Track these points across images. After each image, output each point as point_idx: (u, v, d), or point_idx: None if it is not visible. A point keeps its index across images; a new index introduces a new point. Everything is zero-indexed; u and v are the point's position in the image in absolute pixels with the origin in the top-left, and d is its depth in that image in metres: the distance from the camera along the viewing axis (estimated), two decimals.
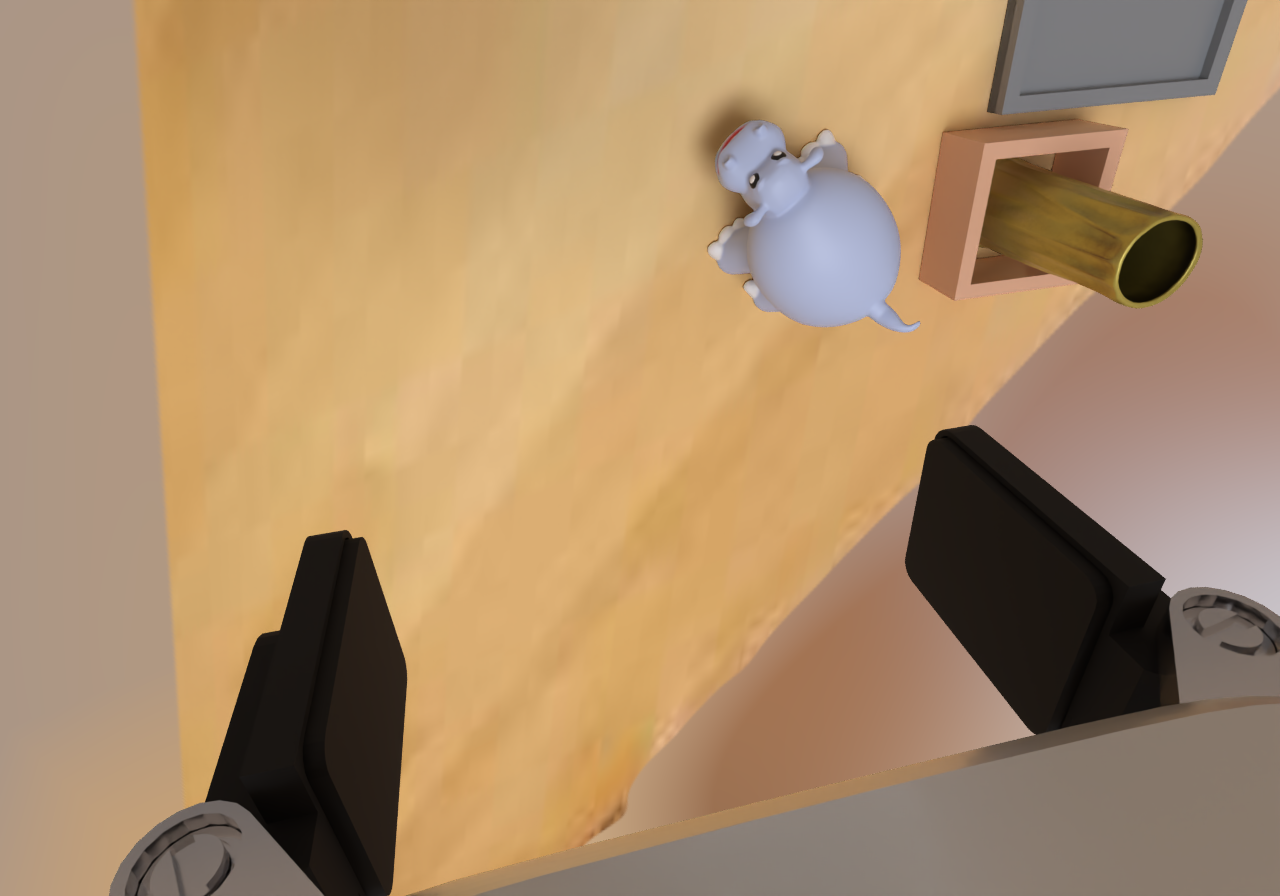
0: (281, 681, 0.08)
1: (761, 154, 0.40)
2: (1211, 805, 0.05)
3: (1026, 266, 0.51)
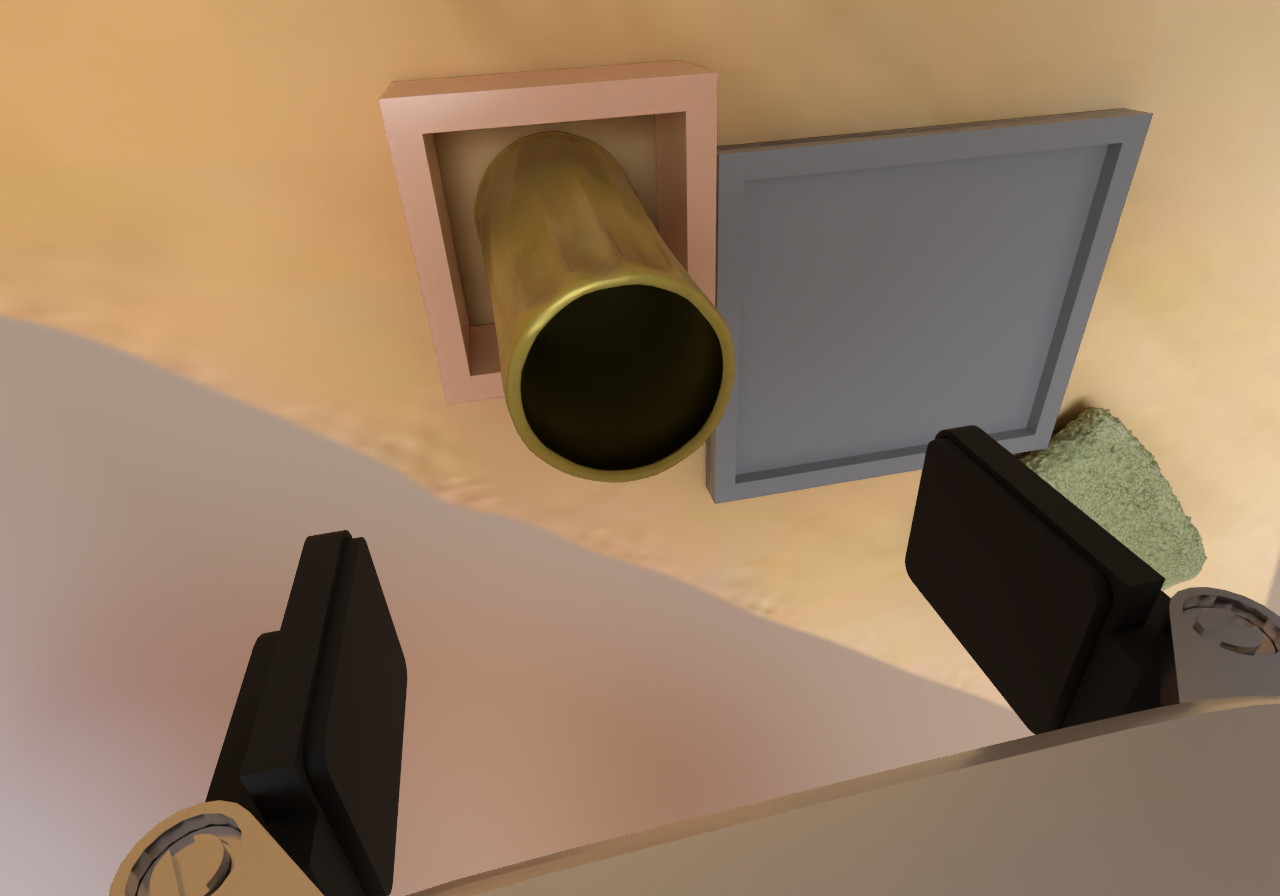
0: (281, 681, 0.08)
1: None
2: (1211, 805, 0.05)
3: (458, 293, 0.26)
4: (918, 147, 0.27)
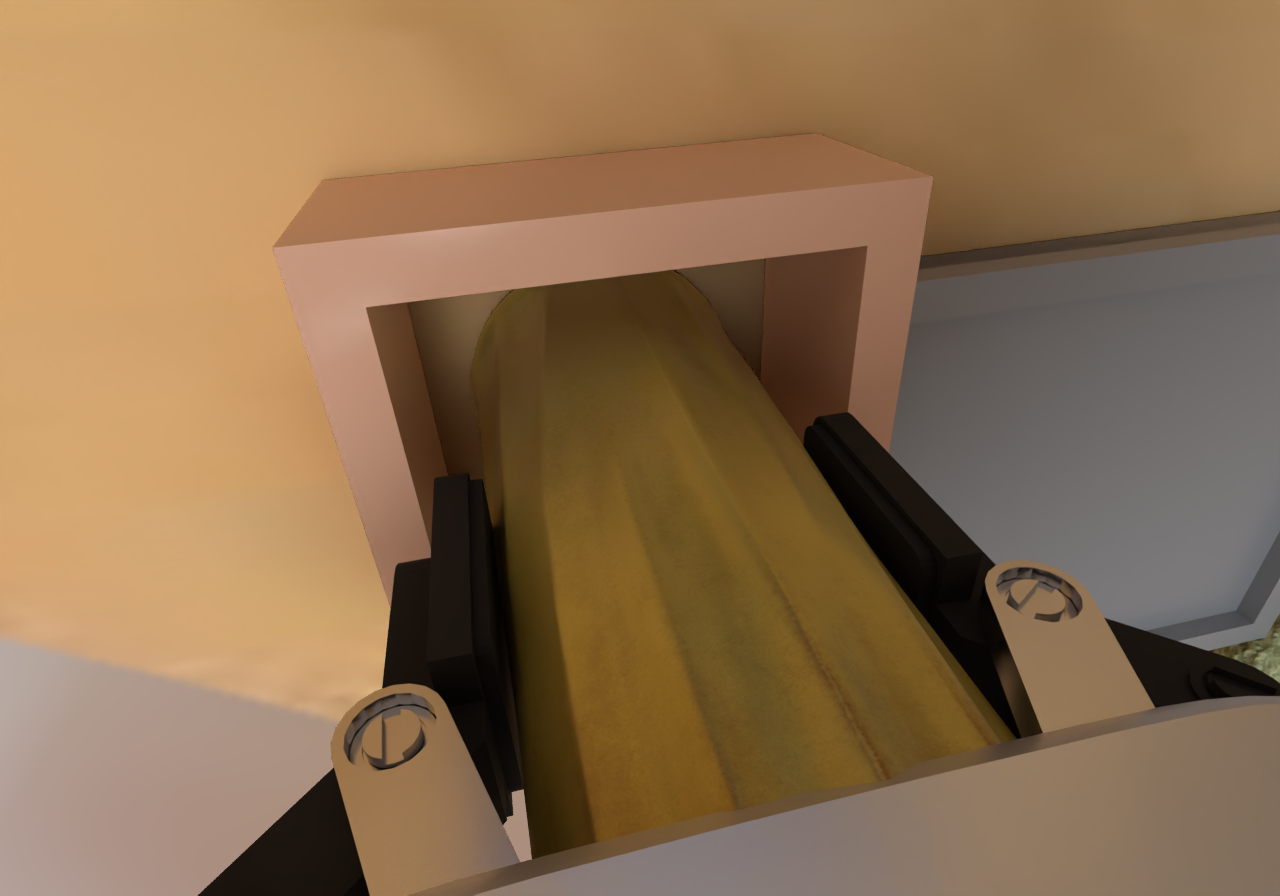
0: (443, 590, 0.09)
1: None
2: (1211, 805, 0.05)
3: None
4: (1181, 263, 0.17)
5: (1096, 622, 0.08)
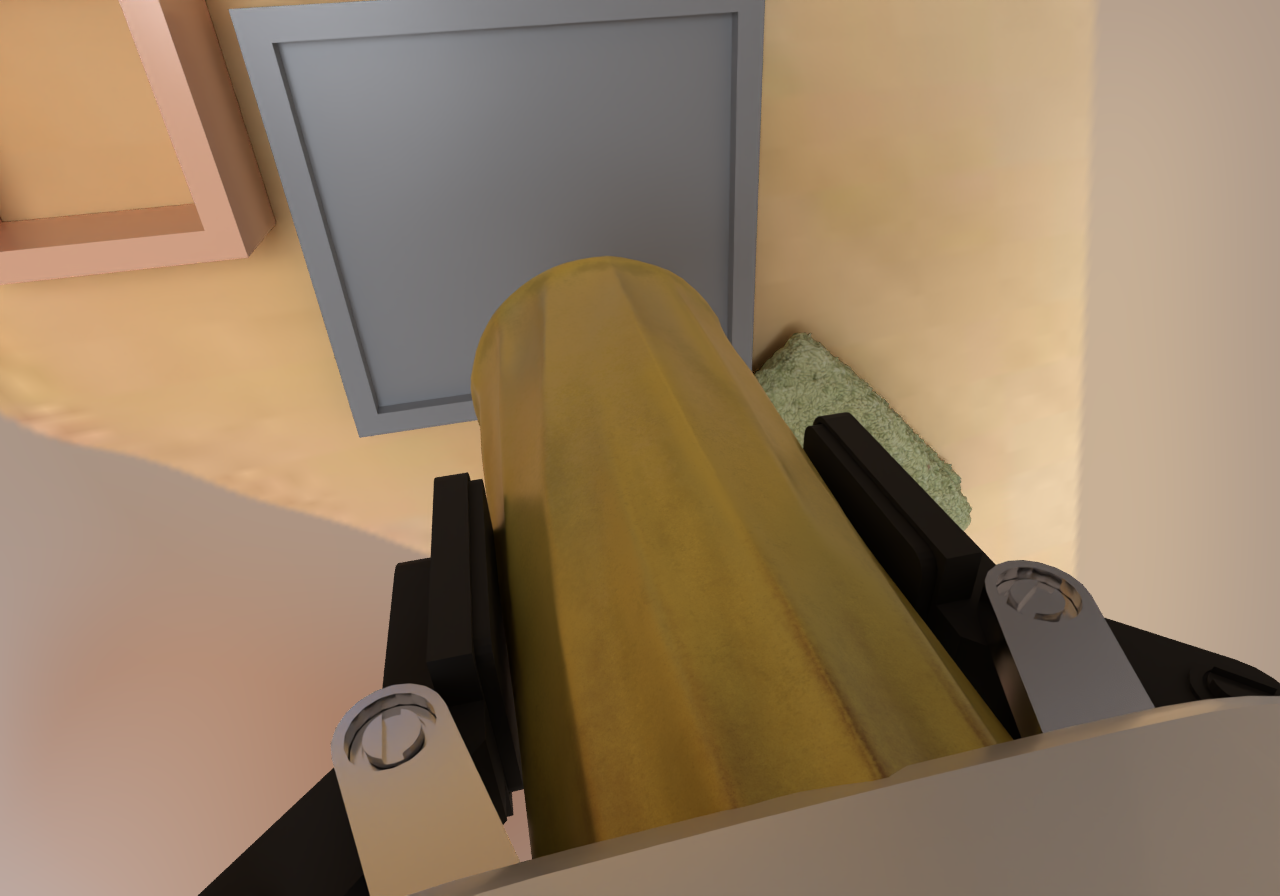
0: (443, 590, 0.09)
1: None
2: (1211, 805, 0.05)
3: None
4: (482, 8, 0.24)
5: (1096, 622, 0.08)
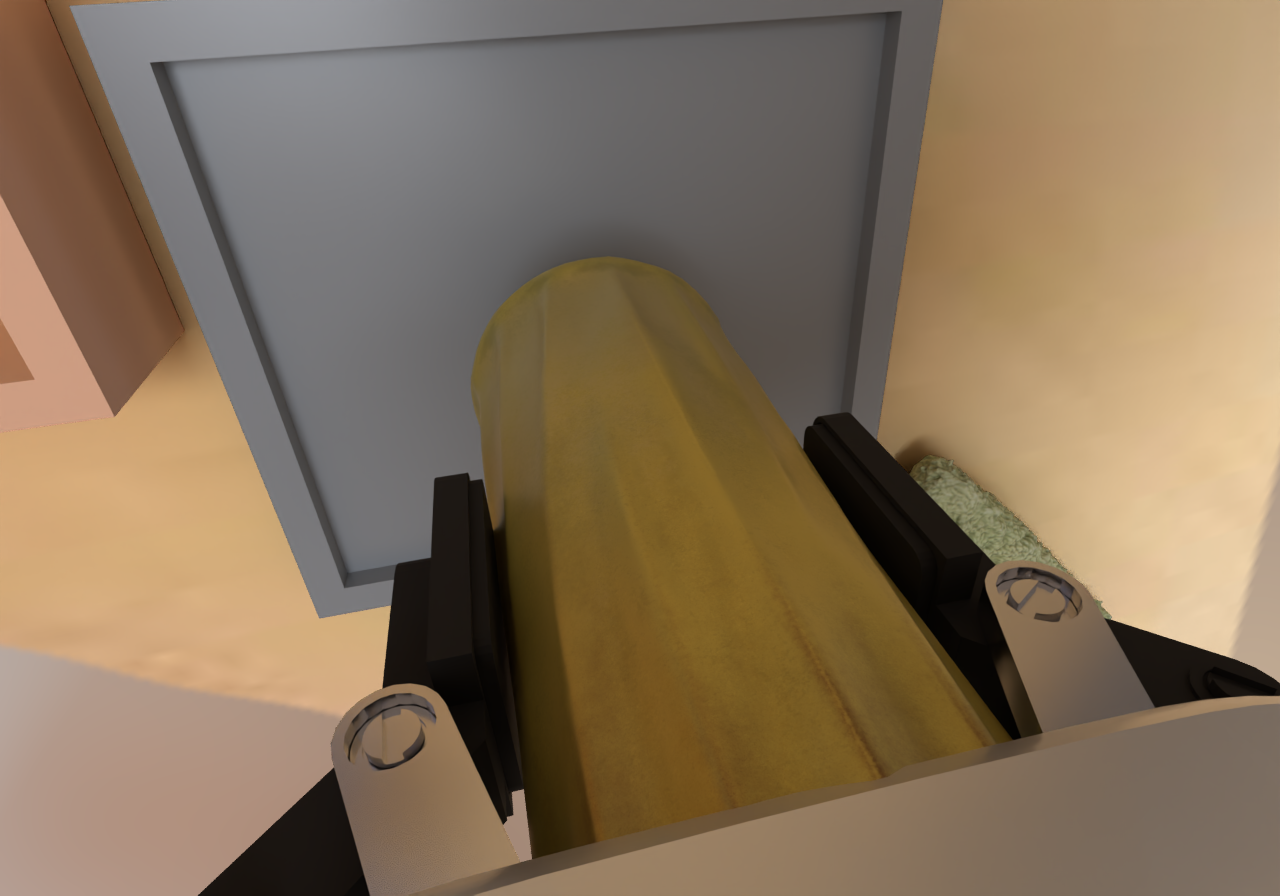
0: (443, 590, 0.09)
1: None
2: (1212, 805, 0.05)
3: None
4: (501, 5, 0.15)
5: (1096, 622, 0.08)
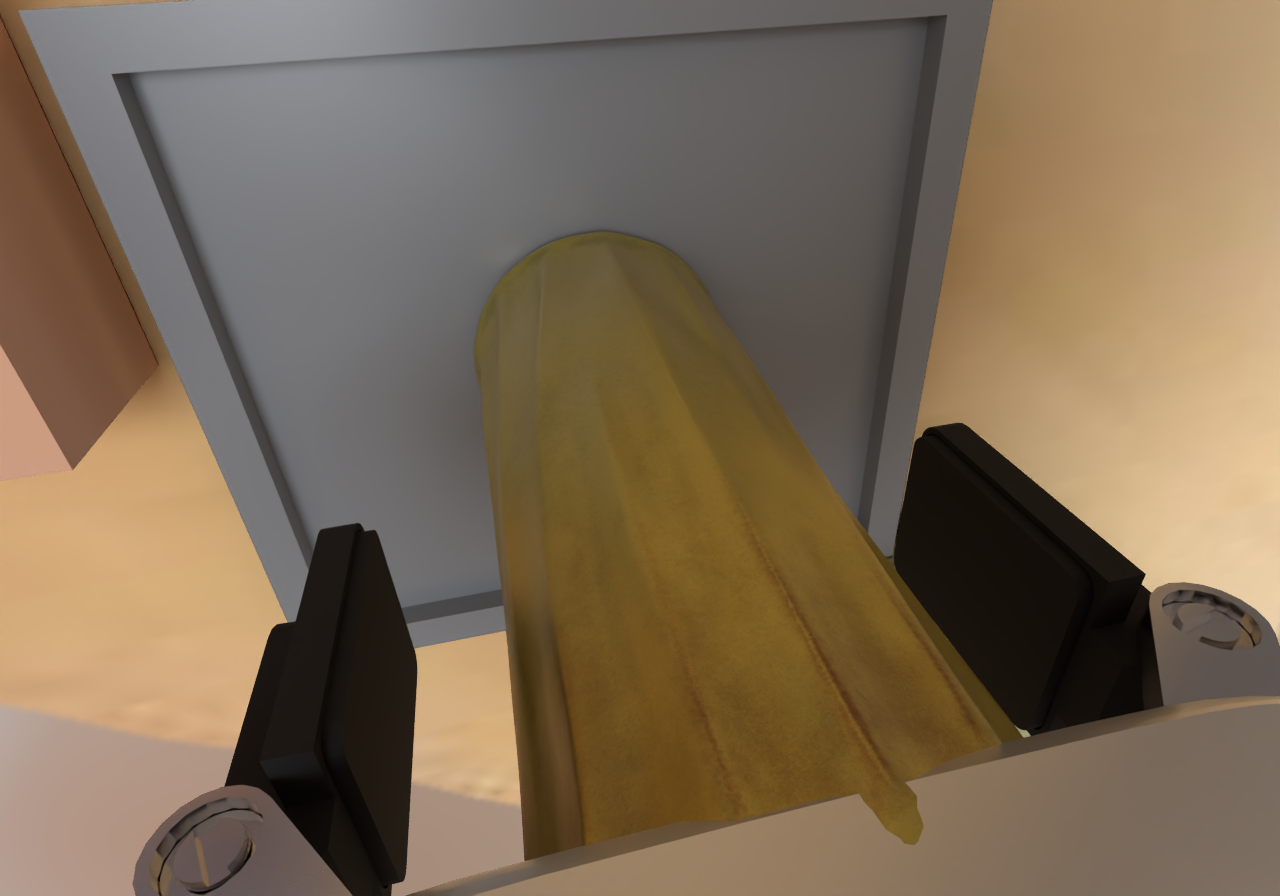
0: (298, 669, 0.08)
1: None
2: (1212, 805, 0.05)
3: None
4: (505, 9, 0.13)
5: (1272, 659, 0.08)
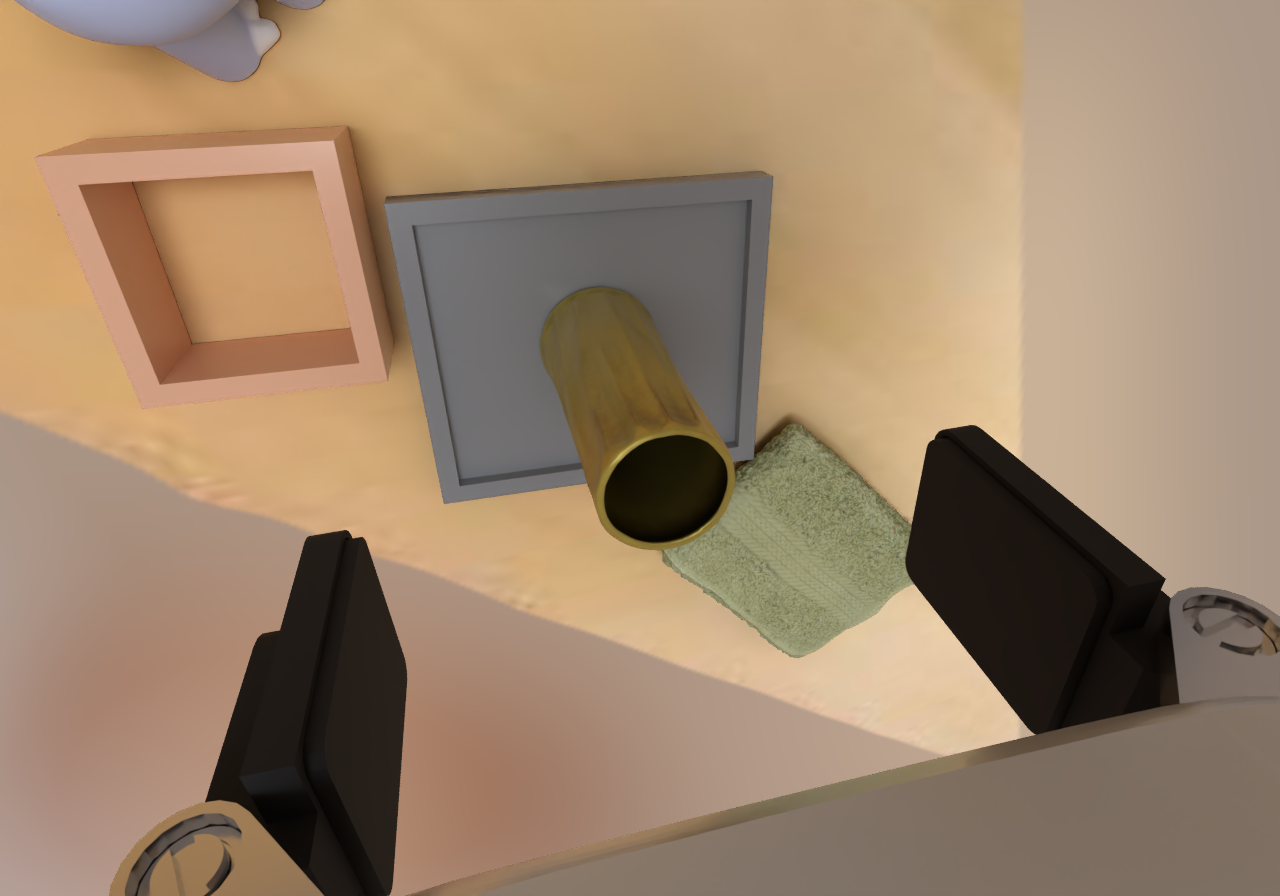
0: (281, 681, 0.08)
1: None
2: (1211, 805, 0.05)
3: (153, 315, 0.30)
4: (565, 200, 0.33)
5: None
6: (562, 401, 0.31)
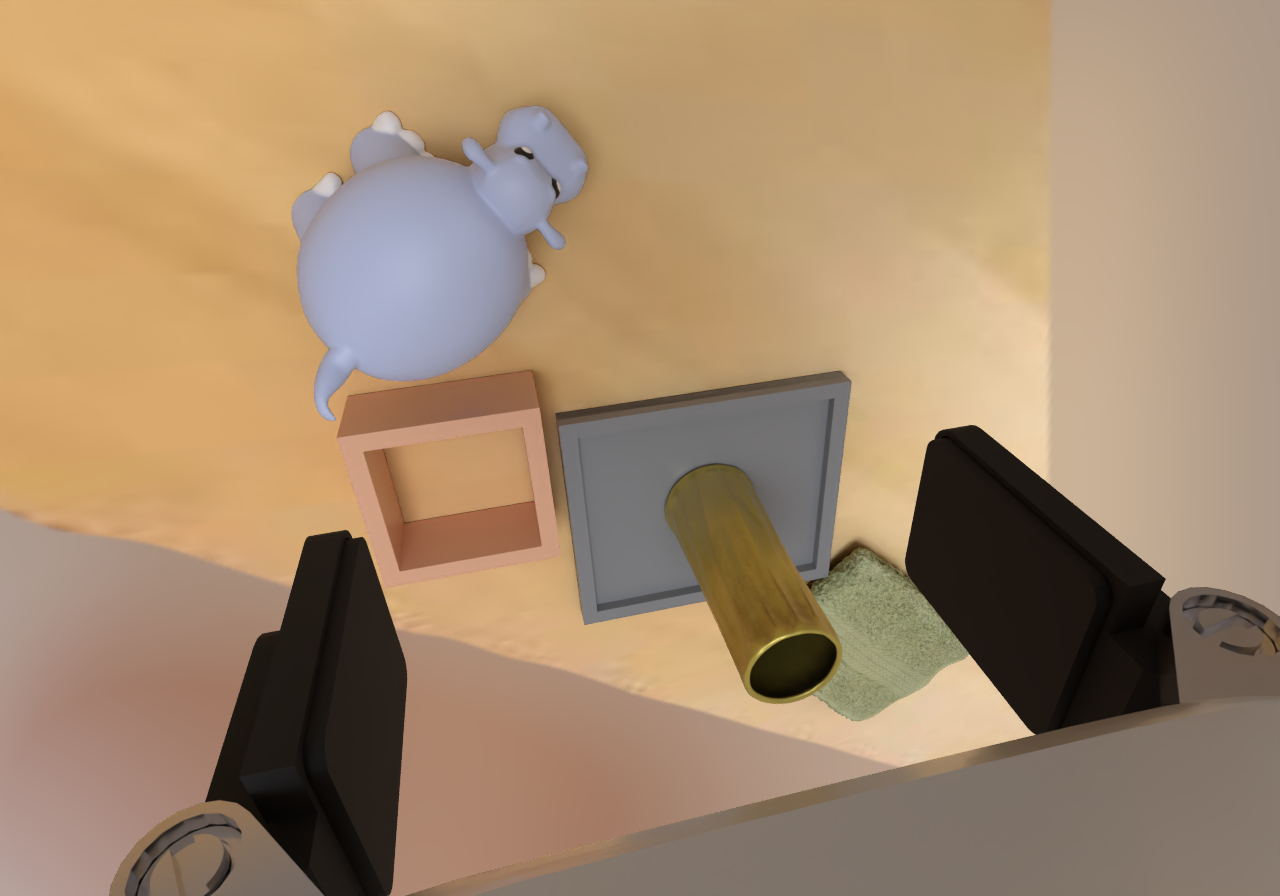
0: (281, 681, 0.08)
1: (553, 165, 0.30)
2: (1211, 805, 0.05)
3: (392, 518, 0.41)
4: (692, 411, 0.42)
5: None
6: (697, 573, 0.41)
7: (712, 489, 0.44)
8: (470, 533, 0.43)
